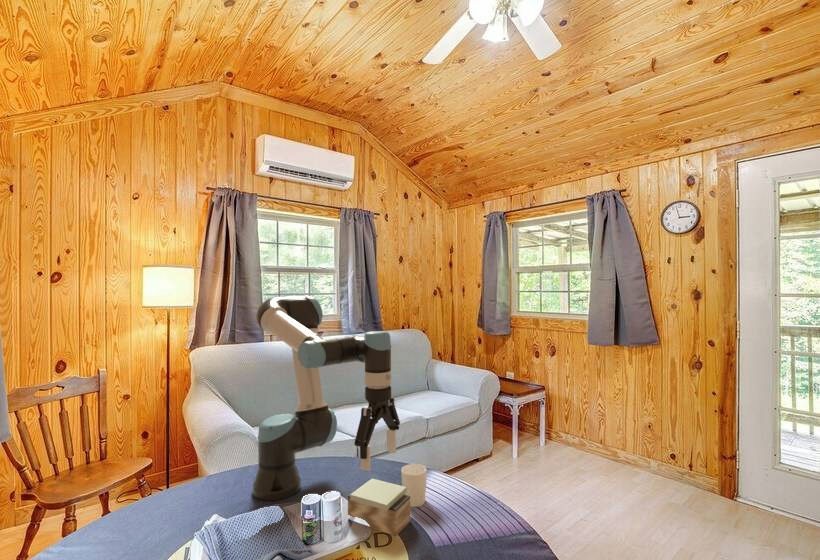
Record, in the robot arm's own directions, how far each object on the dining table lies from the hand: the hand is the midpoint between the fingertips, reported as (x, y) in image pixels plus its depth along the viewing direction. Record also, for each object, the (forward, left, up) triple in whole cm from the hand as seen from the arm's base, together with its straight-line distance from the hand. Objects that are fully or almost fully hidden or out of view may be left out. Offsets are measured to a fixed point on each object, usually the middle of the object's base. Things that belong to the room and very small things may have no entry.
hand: (379, 460), depth 118 cm
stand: (0, 0, -17) cm, 17 cm away
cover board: (0, 0, -10) cm, 10 cm away
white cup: (+4, +14, -17) cm, 23 cm away
